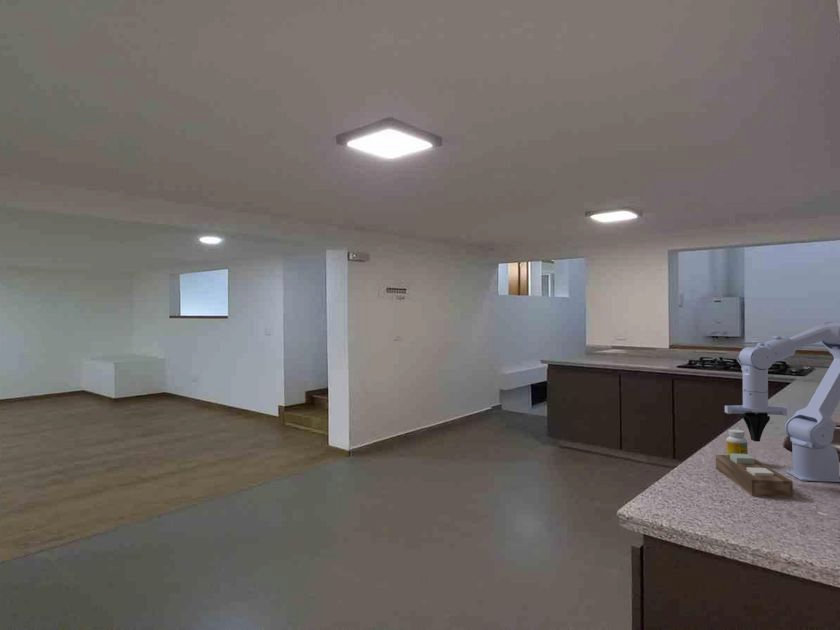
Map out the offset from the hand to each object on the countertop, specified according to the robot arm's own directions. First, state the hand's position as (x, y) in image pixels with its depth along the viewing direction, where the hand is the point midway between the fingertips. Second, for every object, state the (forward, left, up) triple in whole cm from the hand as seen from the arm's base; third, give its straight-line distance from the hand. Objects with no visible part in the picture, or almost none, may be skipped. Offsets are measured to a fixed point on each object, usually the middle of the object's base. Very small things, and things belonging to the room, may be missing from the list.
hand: (755, 440), depth 133 cm
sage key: (+3, -2, -8) cm, 9 cm away
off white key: (+3, +8, -9) cm, 12 cm away
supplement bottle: (-1, -15, -11) cm, 19 cm away
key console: (+3, +3, -10) cm, 11 cm away
